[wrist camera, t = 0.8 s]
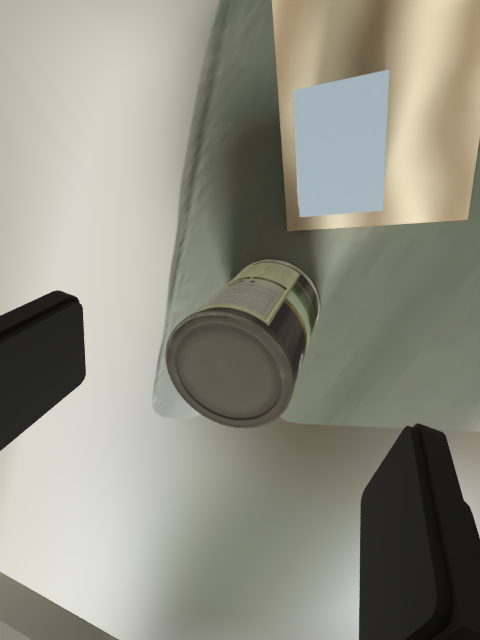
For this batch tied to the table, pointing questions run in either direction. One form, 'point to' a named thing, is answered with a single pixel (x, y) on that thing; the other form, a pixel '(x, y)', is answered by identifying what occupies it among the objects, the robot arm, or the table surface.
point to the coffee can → (245, 345)
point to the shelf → (391, 97)
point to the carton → (341, 145)
